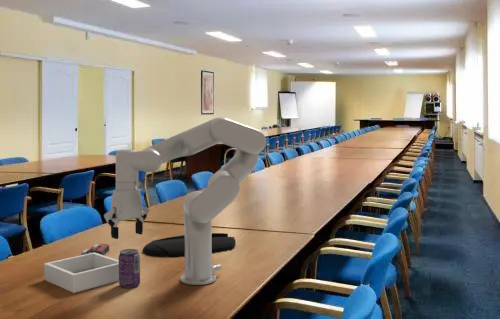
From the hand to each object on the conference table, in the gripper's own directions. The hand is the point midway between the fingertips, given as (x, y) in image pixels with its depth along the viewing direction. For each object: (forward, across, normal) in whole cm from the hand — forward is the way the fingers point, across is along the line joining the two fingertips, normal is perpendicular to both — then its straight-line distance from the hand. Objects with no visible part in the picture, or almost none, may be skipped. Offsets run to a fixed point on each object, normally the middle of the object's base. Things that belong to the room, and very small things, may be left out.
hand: (127, 235), depth 183 cm
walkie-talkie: (+18, -13, -43) cm, 48 cm away
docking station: (+17, -48, -23) cm, 55 cm away
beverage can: (+18, -1, 0) cm, 18 cm away
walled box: (+18, +6, -16) cm, 25 cm away
